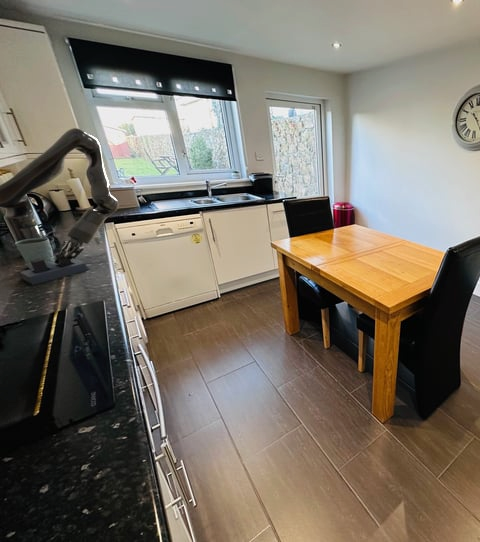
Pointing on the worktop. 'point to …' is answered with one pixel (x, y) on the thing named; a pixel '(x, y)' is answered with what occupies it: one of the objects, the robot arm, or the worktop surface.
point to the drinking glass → (36, 250)
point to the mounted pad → (39, 265)
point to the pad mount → (53, 272)
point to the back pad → (60, 257)
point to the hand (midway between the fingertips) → (59, 264)
